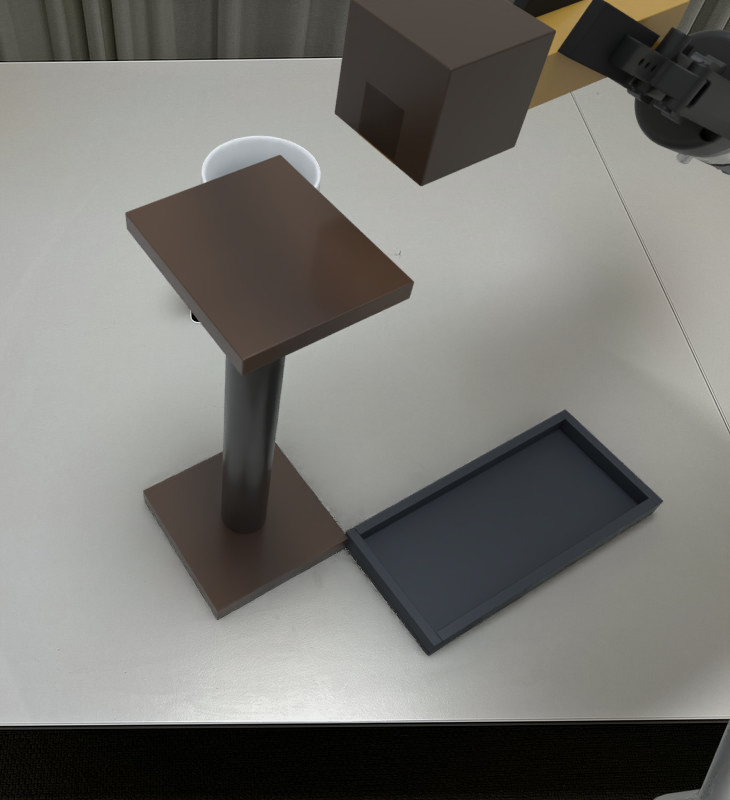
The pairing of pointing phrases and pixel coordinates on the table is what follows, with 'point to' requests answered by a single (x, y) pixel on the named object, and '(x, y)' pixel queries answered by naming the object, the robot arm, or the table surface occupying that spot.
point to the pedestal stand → (257, 363)
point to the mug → (258, 157)
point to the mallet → (461, 74)
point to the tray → (498, 528)
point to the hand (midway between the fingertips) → (553, 10)
